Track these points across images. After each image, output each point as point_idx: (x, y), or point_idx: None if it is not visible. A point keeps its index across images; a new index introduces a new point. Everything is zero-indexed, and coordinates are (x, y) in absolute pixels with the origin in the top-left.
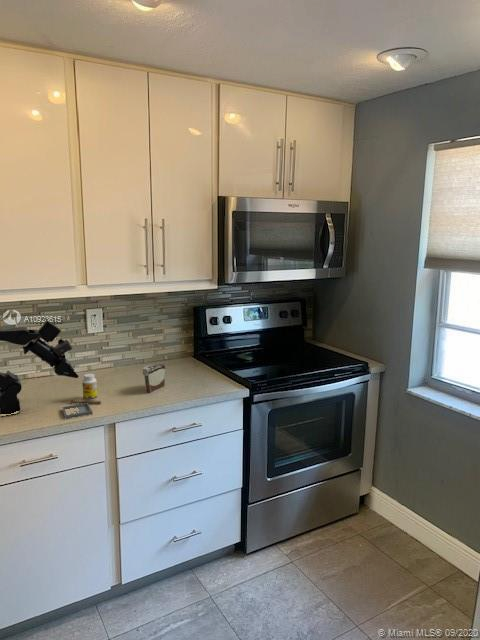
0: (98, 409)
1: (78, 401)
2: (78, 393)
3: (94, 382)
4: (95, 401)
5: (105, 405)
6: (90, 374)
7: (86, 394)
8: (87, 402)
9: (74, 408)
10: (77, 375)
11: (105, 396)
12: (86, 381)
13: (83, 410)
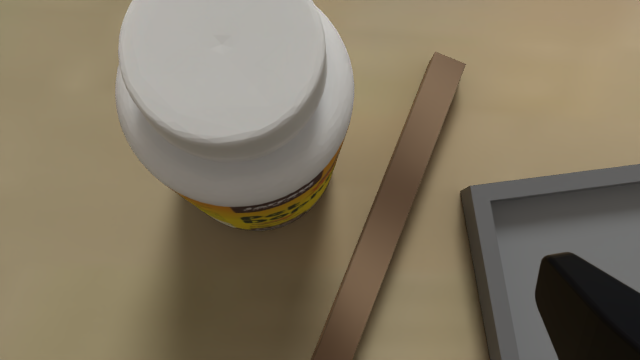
0: (592, 98)
1: (379, 288)
2: (24, 285)
3: (324, 18)
4: (438, 108)
5: (504, 28)
6: (190, 14)
7: (323, 186)
8: (414, 192)
9: (526, 334)
10: (600, 280)
11: None
12: (324, 131)
13: (611, 241)
